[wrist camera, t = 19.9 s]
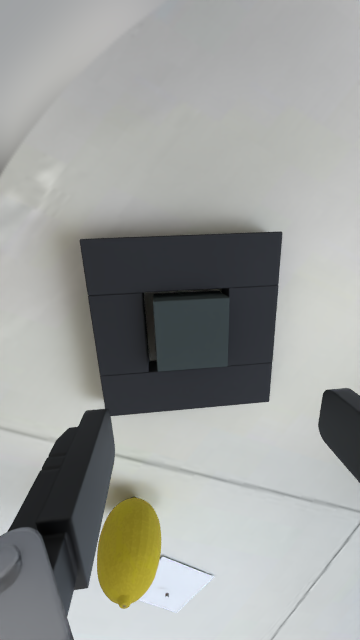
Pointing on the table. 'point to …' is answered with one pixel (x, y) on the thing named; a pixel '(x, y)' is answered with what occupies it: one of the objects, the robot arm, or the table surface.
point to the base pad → (175, 275)
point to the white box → (174, 585)
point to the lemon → (129, 551)
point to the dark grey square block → (191, 330)
